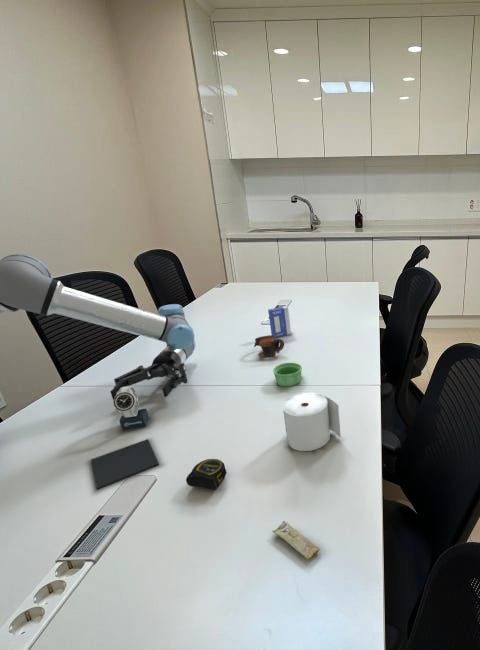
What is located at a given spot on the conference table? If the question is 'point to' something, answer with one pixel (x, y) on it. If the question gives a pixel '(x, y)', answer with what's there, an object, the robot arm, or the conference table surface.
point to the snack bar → (296, 540)
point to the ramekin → (287, 374)
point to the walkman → (279, 321)
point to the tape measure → (207, 474)
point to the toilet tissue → (310, 420)
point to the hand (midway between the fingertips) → (138, 394)
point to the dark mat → (123, 463)
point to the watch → (130, 409)
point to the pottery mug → (269, 346)
